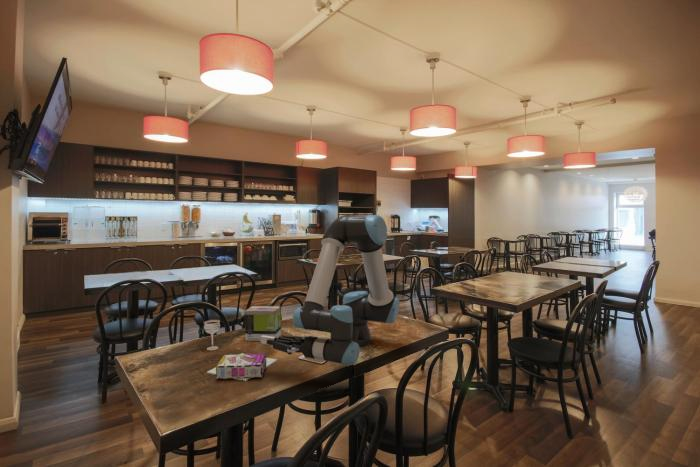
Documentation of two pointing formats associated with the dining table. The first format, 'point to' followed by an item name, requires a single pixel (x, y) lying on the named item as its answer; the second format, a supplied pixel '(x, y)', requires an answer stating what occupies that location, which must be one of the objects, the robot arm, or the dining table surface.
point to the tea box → (262, 322)
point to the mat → (268, 362)
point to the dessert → (308, 360)
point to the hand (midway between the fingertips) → (262, 339)
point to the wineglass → (212, 330)
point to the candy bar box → (241, 366)
